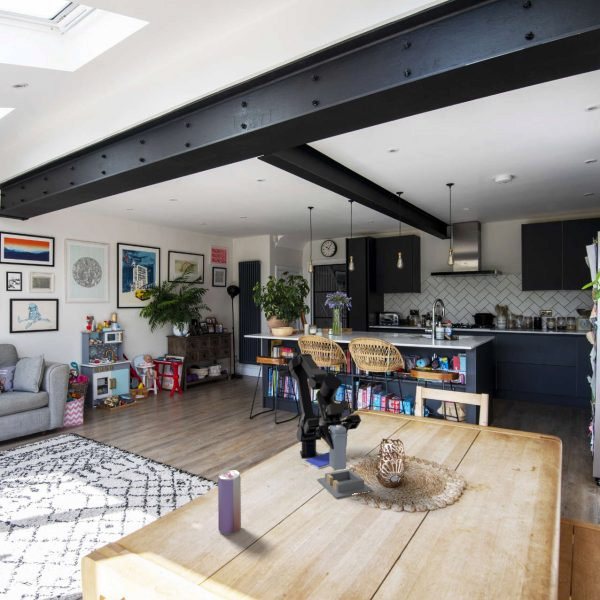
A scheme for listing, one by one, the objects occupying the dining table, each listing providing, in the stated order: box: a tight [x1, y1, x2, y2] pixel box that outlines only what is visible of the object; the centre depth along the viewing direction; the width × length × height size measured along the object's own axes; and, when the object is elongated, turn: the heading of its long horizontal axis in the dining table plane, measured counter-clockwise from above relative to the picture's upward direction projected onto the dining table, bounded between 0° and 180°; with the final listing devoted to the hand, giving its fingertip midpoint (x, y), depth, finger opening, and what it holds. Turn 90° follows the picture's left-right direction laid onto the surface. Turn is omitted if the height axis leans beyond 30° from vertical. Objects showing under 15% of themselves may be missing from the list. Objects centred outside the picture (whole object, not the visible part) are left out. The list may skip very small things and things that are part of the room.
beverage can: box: [217, 469, 242, 536], centre depth 116 cm, size 6×6×15 cm
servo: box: [329, 425, 349, 471], centre depth 141 cm, size 7×4×14 cm, turn 17°
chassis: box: [316, 468, 374, 500], centre depth 142 cm, size 14×13×3 cm
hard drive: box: [303, 451, 330, 470], centre depth 163 cm, size 2×8×12 cm
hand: (339, 448), depth 139 cm, fingers closed on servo, 4 cm apart
